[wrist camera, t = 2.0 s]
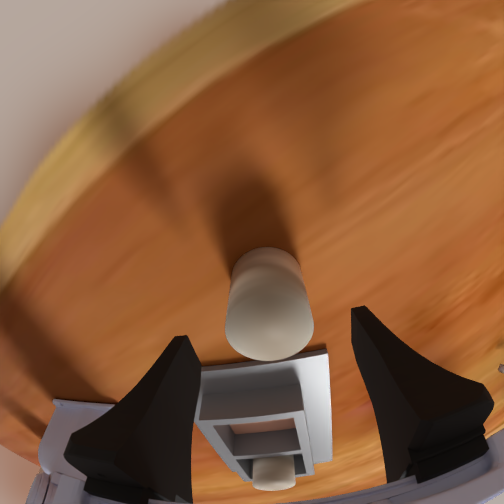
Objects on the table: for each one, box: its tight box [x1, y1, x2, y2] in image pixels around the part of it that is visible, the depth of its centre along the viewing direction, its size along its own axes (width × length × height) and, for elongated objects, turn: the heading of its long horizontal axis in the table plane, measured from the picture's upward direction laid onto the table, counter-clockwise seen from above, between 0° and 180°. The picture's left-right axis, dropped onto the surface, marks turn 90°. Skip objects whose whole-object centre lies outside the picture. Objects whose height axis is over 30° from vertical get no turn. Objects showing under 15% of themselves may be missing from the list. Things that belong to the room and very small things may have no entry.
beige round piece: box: [253, 454, 295, 491], centre depth 24 cm, size 4×4×4 cm
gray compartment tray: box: [194, 349, 332, 481], centre depth 24 cm, size 12×20×3 cm, turn 12°
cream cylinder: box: [225, 247, 314, 361], centre depth 15 cm, size 4×4×4 cm
